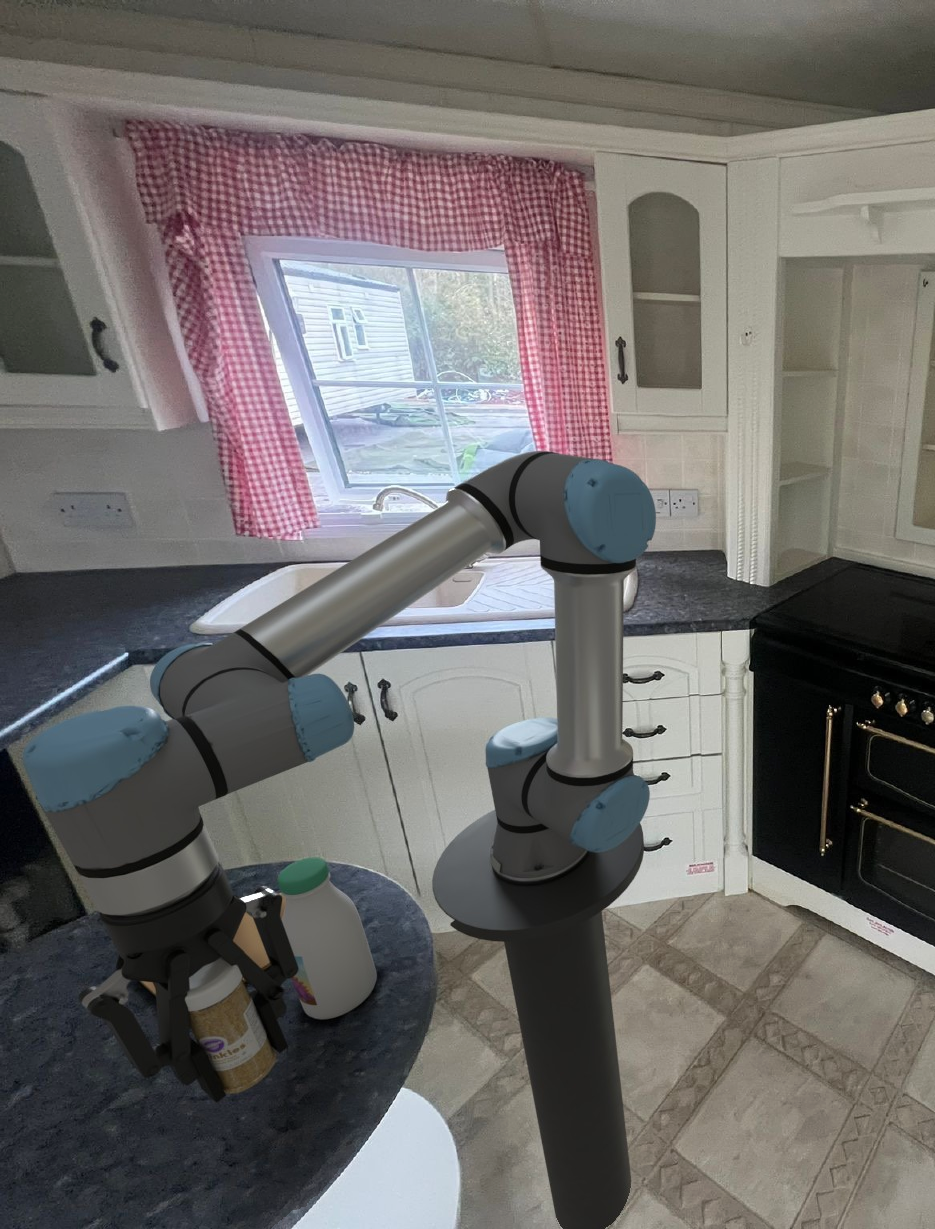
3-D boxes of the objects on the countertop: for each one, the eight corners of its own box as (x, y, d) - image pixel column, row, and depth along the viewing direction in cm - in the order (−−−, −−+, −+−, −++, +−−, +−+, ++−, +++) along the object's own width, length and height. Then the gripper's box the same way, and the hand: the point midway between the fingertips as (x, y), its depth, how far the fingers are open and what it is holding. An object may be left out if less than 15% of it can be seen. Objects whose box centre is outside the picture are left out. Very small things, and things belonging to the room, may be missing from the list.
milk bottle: (383, 959, 87) (349, 839, 80) (371, 1009, 81) (333, 884, 73) (313, 977, 84) (271, 855, 77) (295, 1030, 78) (247, 903, 70)
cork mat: (280, 895, 96) (279, 892, 96) (328, 927, 92) (327, 924, 91) (137, 980, 83) (136, 976, 83) (184, 1022, 78) (183, 1019, 78)
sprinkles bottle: (211, 1104, 61) (160, 1005, 56) (226, 1059, 65) (179, 962, 60) (272, 1082, 63) (228, 984, 58) (283, 1040, 67) (242, 944, 61)
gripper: (258, 809, 63) (321, 979, 72) (-14, 944, 49) (107, 1136, 58) (302, 835, 60) (362, 1009, 69) (26, 987, 46) (147, 1182, 55)
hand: (246, 1066), depth 64 cm, fingers closed on sprinkles bottle, 4 cm apart
